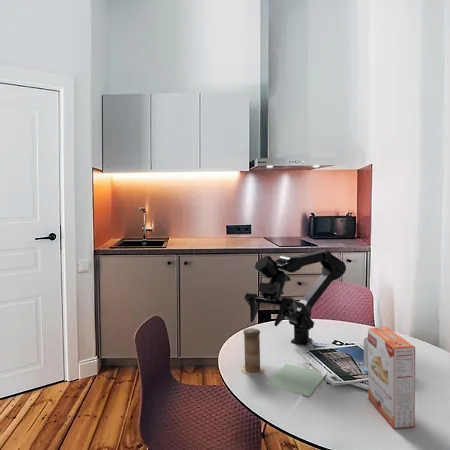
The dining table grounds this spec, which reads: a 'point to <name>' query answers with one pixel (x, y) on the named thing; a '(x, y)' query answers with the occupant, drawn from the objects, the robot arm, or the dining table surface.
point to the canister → (252, 350)
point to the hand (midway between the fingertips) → (263, 323)
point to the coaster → (252, 373)
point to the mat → (296, 380)
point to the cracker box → (391, 376)
